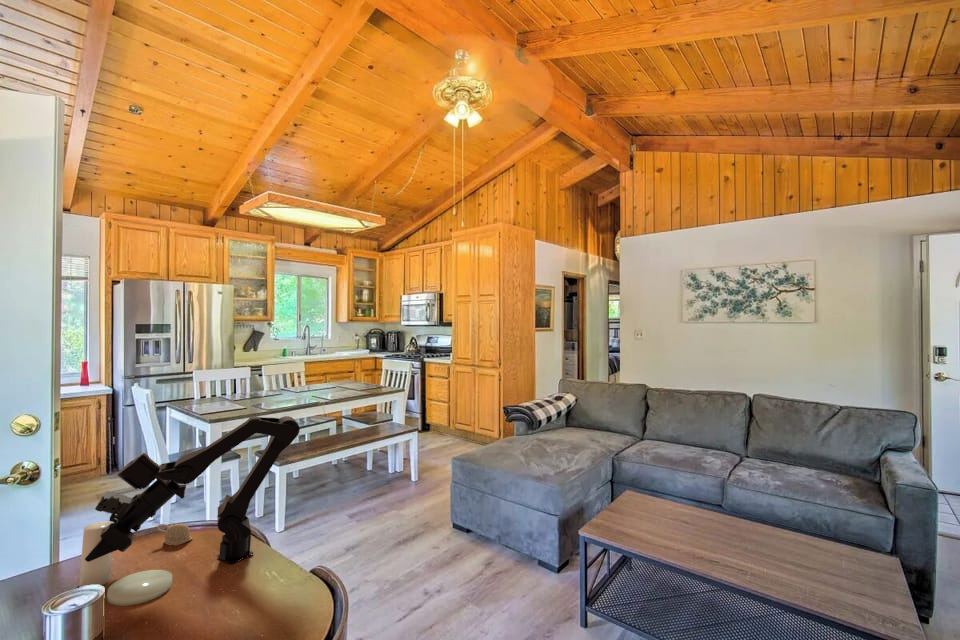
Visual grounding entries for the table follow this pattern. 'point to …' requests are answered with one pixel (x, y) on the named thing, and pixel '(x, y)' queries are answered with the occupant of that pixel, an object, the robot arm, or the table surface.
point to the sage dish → (139, 587)
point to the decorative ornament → (175, 534)
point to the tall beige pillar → (97, 568)
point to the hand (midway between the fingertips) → (89, 554)
